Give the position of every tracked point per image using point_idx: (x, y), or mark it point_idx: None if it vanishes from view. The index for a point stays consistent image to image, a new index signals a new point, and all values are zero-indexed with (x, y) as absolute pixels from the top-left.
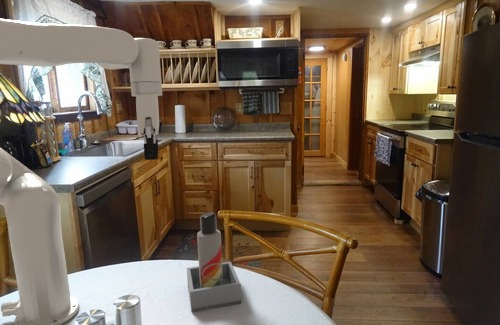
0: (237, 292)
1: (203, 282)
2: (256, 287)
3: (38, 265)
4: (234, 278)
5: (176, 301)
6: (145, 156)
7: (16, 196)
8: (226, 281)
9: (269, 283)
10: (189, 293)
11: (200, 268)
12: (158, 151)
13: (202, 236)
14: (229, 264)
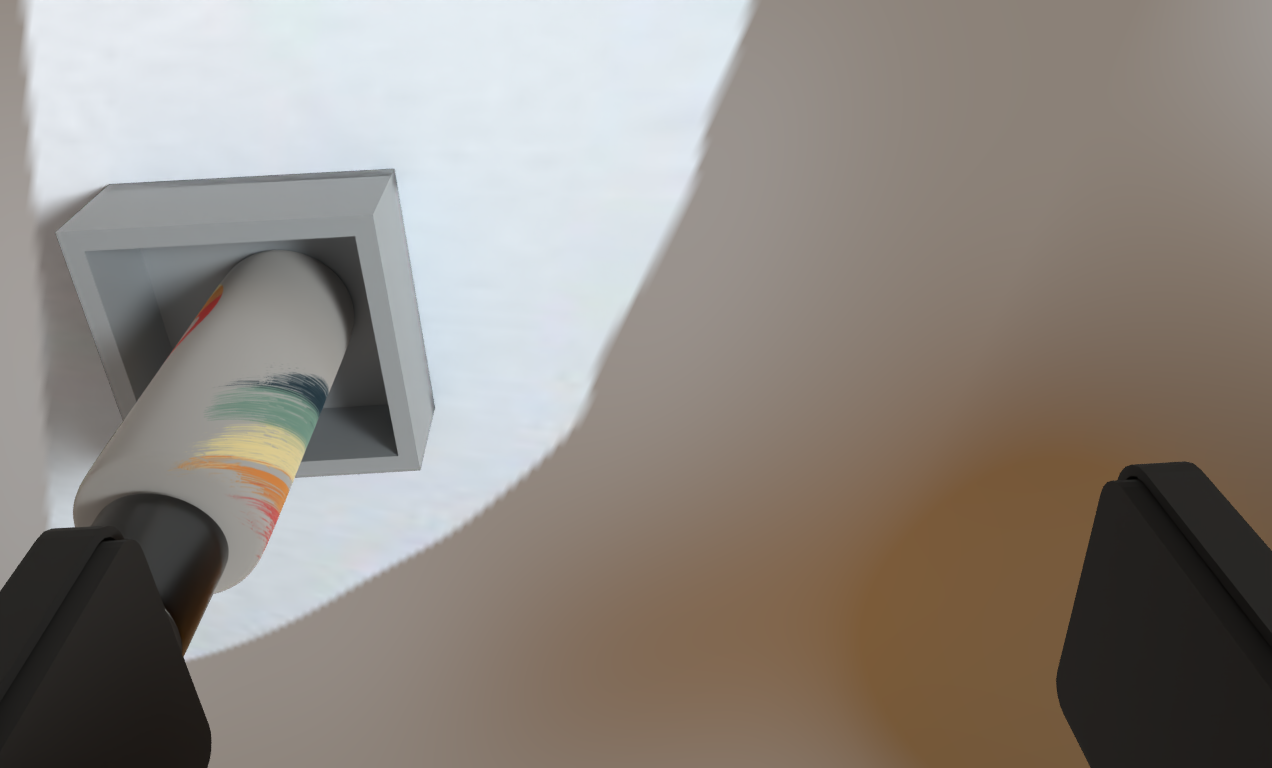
0: None
1: (208, 301)
2: (329, 504)
3: None
4: None
5: (221, 99)
6: (13, 600)
7: None
8: (377, 386)
9: (360, 561)
10: (210, 194)
11: (196, 330)
12: (1085, 739)
13: (86, 490)
14: (383, 459)
